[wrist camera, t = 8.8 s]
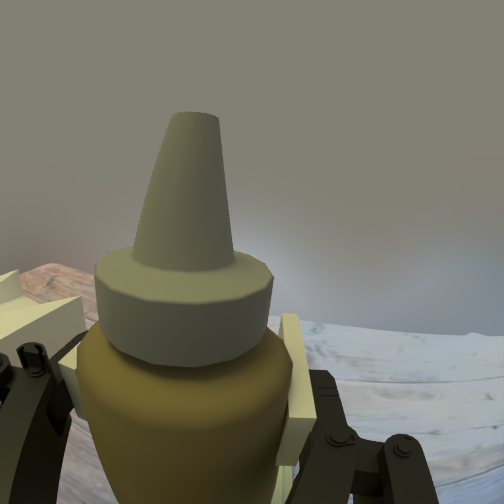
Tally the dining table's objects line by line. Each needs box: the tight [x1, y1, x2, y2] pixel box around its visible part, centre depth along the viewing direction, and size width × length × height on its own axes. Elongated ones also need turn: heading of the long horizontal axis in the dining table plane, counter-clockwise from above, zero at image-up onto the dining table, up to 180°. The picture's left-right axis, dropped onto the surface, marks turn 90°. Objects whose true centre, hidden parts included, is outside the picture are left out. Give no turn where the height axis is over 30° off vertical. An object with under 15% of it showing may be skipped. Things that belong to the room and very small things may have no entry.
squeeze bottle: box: [77, 112, 293, 504], centre depth 8 cm, size 8×8×18 cm
